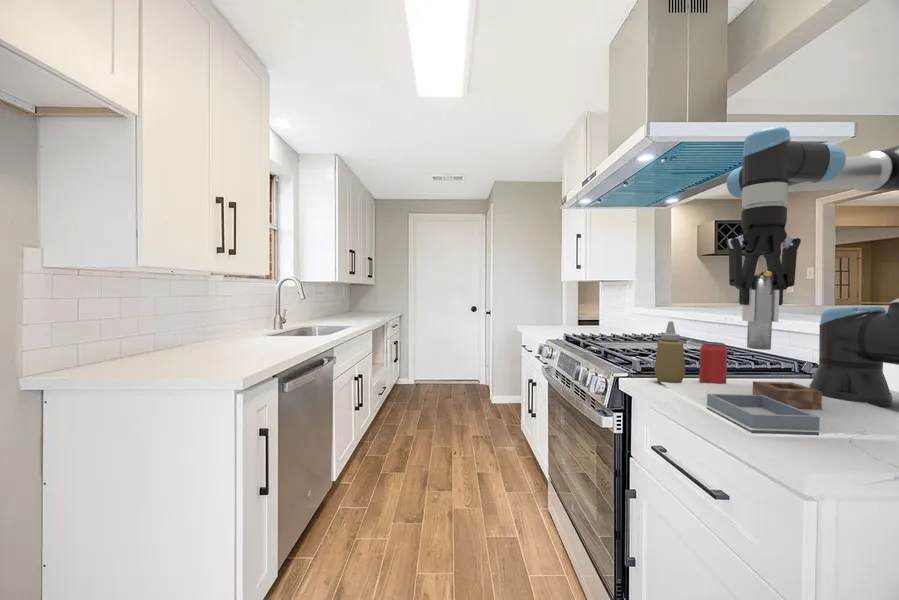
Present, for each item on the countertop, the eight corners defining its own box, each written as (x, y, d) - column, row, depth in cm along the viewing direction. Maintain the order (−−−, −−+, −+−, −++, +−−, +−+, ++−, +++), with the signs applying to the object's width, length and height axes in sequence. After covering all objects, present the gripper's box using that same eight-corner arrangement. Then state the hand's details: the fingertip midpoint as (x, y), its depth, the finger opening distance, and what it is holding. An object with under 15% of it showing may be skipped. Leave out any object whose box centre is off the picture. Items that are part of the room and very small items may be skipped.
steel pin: (759, 346, 90) (761, 272, 89) (777, 350, 84) (780, 271, 84) (739, 346, 90) (742, 272, 89) (756, 349, 84) (759, 271, 84)
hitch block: (791, 402, 101) (791, 382, 101) (821, 414, 92) (822, 391, 92) (752, 401, 102) (752, 381, 102) (778, 412, 93) (779, 390, 93)
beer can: (730, 387, 116) (731, 345, 116) (704, 386, 118) (705, 344, 117) (720, 382, 123) (721, 342, 123) (695, 381, 124) (696, 341, 124)
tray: (762, 410, 95) (762, 395, 95) (818, 435, 79) (819, 416, 79) (706, 408, 96) (707, 393, 95) (752, 433, 80) (752, 414, 80)
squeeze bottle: (666, 379, 127) (668, 320, 126) (691, 385, 119) (693, 322, 119) (647, 381, 123) (649, 320, 123) (672, 387, 116) (673, 323, 115)
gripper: (794, 210, 89) (790, 320, 90) (710, 211, 90) (707, 319, 91) (822, 203, 81) (818, 323, 82) (731, 204, 83) (727, 321, 83)
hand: (759, 320), depth 87 cm, fingers closed on steel pin, 4 cm apart
